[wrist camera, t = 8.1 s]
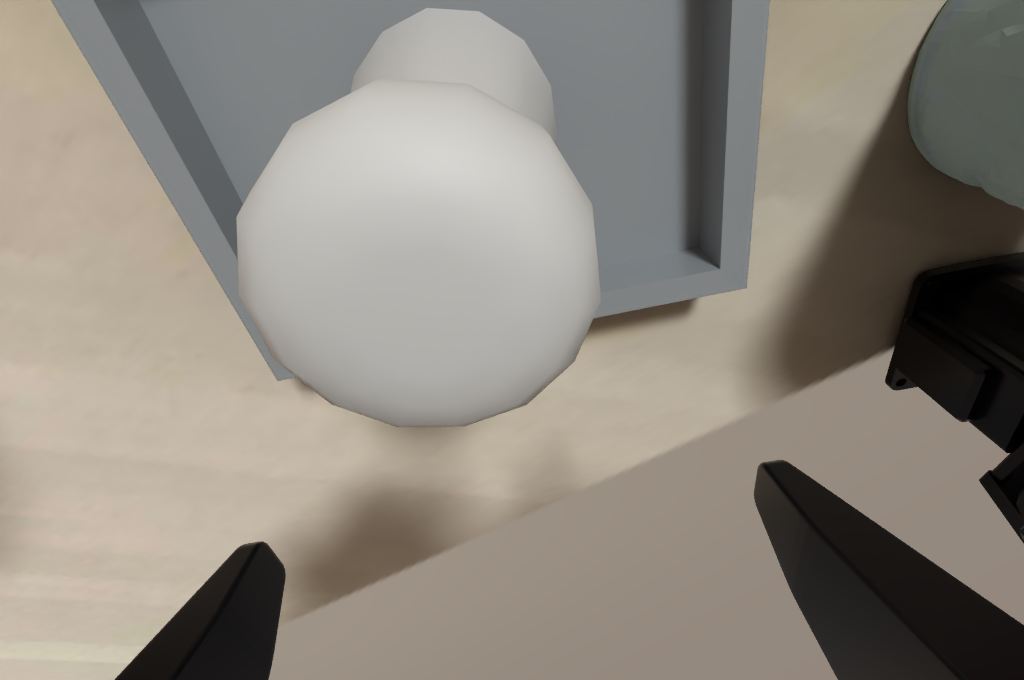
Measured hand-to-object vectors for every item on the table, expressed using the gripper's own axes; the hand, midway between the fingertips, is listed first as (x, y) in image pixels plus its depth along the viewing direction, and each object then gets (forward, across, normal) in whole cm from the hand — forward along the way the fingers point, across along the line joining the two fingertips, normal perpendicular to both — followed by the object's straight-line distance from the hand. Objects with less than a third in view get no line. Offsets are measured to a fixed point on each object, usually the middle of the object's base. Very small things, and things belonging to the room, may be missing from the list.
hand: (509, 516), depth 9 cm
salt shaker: (+12, 0, -5) cm, 13 cm away
